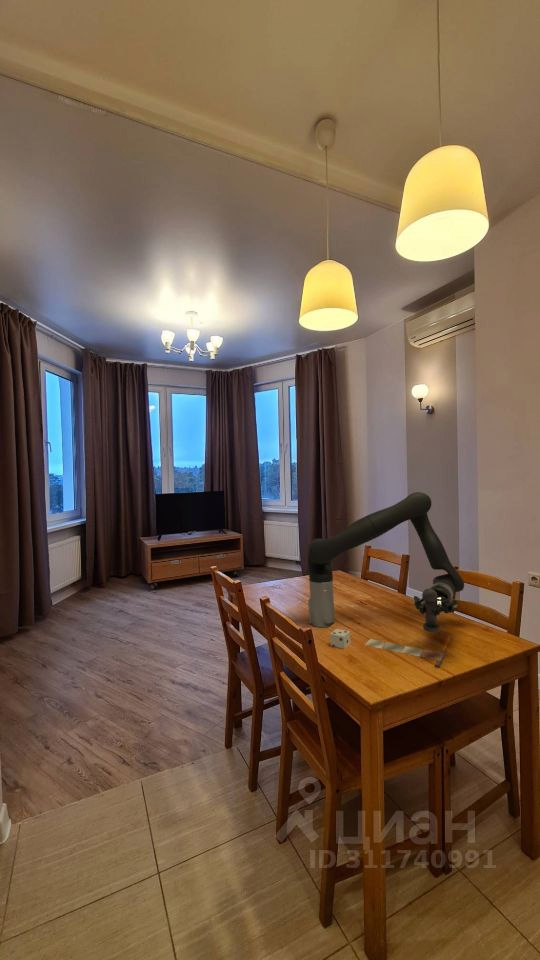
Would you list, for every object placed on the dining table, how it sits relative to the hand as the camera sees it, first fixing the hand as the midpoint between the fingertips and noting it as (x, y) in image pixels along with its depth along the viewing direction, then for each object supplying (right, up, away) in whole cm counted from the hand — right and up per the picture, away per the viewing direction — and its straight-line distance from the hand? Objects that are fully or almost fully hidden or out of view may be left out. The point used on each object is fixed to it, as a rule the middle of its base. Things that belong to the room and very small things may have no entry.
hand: (428, 611), depth 118 cm
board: (-5, -16, +7) cm, 18 cm away
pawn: (+2, -6, +2) cm, 7 cm away
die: (-24, -17, +13) cm, 32 cm away
